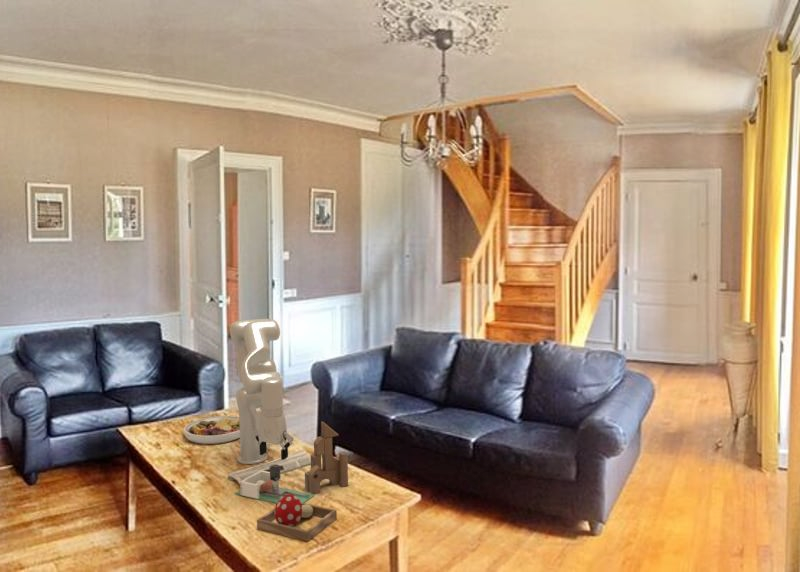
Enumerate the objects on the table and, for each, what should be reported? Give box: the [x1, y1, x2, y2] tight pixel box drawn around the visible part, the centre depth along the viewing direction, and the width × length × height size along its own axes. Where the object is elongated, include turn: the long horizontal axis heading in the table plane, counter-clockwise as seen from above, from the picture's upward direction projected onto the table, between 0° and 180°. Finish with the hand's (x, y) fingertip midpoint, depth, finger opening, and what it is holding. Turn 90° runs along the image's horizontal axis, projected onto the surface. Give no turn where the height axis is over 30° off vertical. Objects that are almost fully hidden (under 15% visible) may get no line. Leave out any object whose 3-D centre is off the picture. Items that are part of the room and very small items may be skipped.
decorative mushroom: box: [274, 494, 313, 528], centre depth 210 cm, size 11×11×15 cm
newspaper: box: [227, 449, 311, 486], centre depth 256 cm, size 35×12×4 cm, turn 132°
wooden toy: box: [304, 421, 349, 495], centre depth 237 cm, size 15×7×25 cm, turn 120°
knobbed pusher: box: [260, 465, 286, 496], centre depth 232 cm, size 6×8×10 cm
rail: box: [261, 489, 312, 503], centre depth 230 cm, size 6×18×1 cm, turn 64°
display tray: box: [256, 502, 337, 542], centre depth 209 cm, size 17×20×3 cm
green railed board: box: [234, 486, 316, 504], centre depth 232 cm, size 11×28×1 cm, turn 64°
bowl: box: [183, 415, 240, 445], centre depth 300 cm, size 30×30×8 cm
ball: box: [256, 480, 265, 491], centre depth 235 cm, size 4×4×4 cm
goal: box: [239, 470, 270, 500], centre depth 235 cm, size 12×8×5 cm, turn 154°
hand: (273, 456), depth 231 cm, fingers open, 9 cm apart
